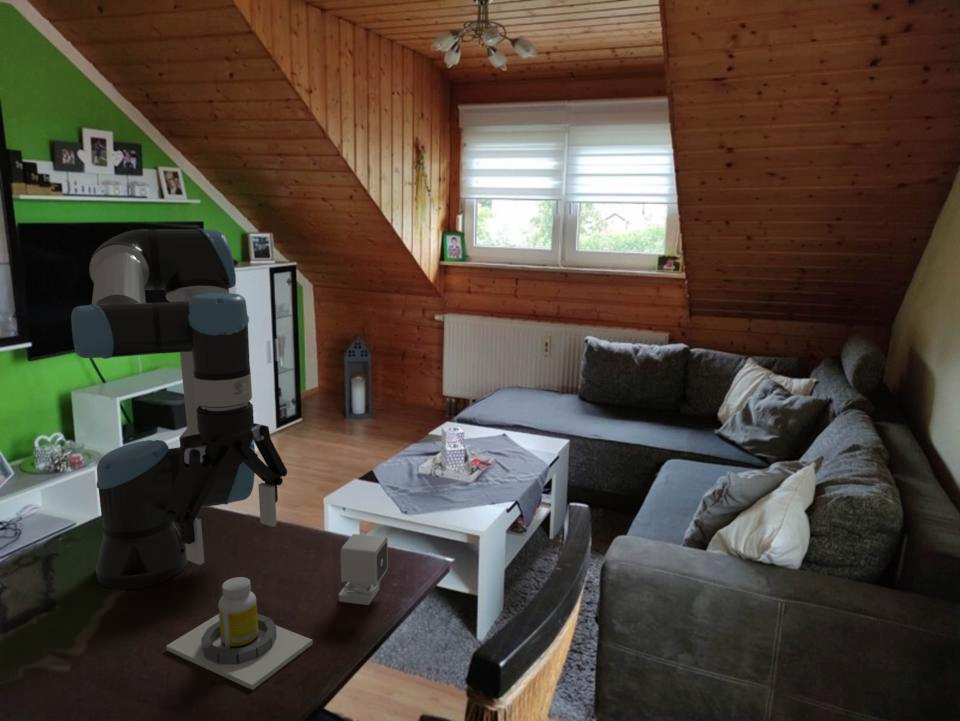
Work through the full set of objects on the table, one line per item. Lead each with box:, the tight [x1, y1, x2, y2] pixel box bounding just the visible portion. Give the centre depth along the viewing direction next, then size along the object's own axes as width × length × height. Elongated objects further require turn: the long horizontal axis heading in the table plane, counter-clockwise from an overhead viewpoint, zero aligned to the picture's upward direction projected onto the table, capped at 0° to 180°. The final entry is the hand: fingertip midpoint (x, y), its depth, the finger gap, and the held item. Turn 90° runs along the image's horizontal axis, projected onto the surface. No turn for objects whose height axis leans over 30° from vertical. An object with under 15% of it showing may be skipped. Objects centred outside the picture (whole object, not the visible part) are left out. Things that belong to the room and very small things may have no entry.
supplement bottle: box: [217, 576, 259, 649], centre depth 104 cm, size 5×5×10 cm
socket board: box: [165, 613, 314, 691], centre depth 105 cm, size 18×12×2 cm, turn 61°
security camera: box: [338, 533, 389, 606], centre depth 119 cm, size 6×7×10 cm
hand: (234, 542), depth 102 cm, fingers open, 13 cm apart
